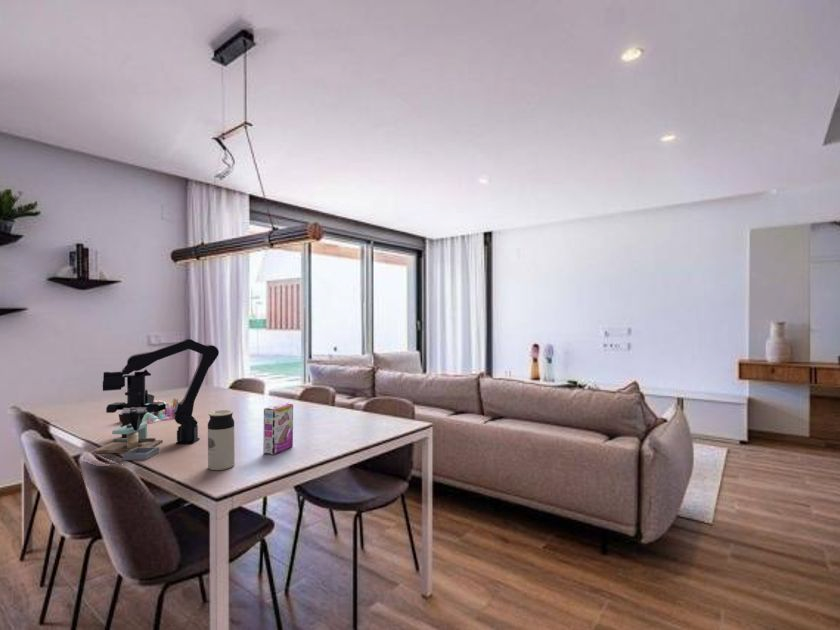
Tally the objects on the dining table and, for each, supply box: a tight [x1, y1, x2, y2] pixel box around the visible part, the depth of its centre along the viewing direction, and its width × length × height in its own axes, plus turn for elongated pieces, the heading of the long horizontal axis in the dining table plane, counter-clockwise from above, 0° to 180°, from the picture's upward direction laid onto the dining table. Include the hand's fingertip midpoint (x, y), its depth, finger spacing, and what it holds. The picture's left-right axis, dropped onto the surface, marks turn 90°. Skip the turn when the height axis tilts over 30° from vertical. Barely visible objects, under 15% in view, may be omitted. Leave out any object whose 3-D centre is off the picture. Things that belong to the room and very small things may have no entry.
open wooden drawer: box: [93, 437, 164, 454], centre depth 169 cm, size 18×12×2 cm
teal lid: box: [112, 423, 148, 438], centre depth 169 cm, size 6×11×6 cm, turn 2°
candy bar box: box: [262, 402, 294, 456], centre depth 164 cm, size 11×5×16 cm, turn 159°
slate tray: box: [122, 446, 160, 461], centre depth 158 cm, size 8×8×2 cm
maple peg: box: [127, 432, 138, 449], centre depth 166 cm, size 4×4×6 cm
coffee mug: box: [118, 410, 142, 438], centre depth 183 cm, size 12×9×10 cm
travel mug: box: [207, 409, 236, 471], centre depth 147 cm, size 8×8×18 cm
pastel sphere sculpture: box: [121, 397, 181, 424], centre depth 217 cm, size 25×24×9 cm
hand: (136, 430), depth 166 cm, fingers closed
